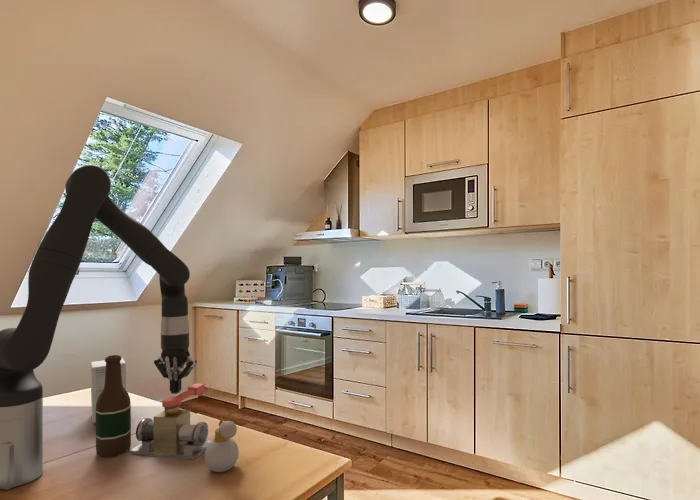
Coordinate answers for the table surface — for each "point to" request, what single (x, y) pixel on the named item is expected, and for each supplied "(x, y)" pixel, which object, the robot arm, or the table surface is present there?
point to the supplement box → (101, 381)
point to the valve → (171, 435)
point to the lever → (183, 396)
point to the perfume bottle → (222, 448)
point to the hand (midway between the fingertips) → (175, 392)
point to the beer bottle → (113, 413)
